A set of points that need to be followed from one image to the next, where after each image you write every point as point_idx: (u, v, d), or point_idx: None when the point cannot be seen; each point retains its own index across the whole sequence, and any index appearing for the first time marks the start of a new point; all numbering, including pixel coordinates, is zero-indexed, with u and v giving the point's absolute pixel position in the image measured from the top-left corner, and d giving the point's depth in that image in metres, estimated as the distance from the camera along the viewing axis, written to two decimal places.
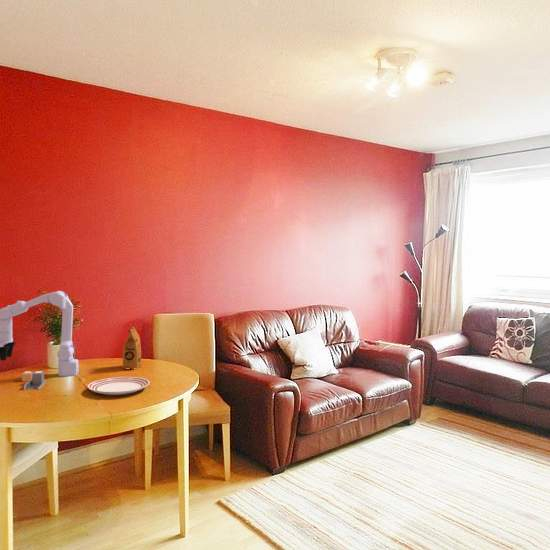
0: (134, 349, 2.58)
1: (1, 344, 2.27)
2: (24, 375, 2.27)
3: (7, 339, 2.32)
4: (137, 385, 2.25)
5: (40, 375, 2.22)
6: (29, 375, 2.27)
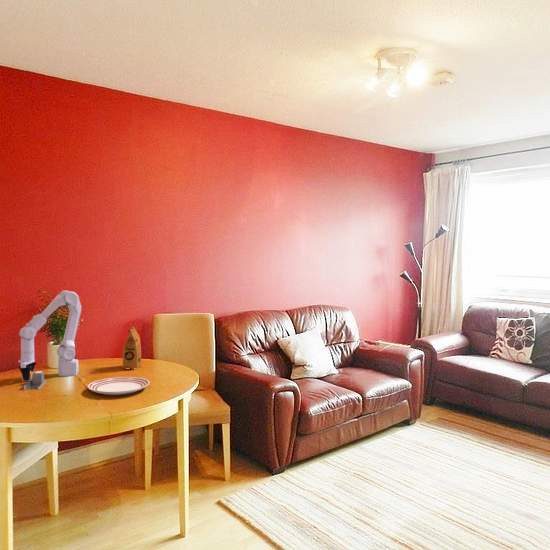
0: (134, 349, 2.58)
1: (23, 365, 2.21)
2: None
3: (29, 359, 2.26)
4: (137, 385, 2.25)
5: (40, 375, 2.22)
6: None
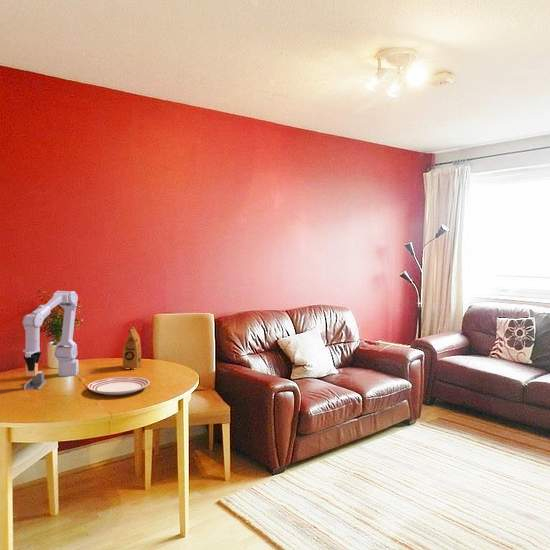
0: (134, 349, 2.58)
1: (28, 354, 2.09)
2: None
3: (34, 348, 2.14)
4: (137, 385, 2.25)
5: (40, 375, 2.22)
6: None
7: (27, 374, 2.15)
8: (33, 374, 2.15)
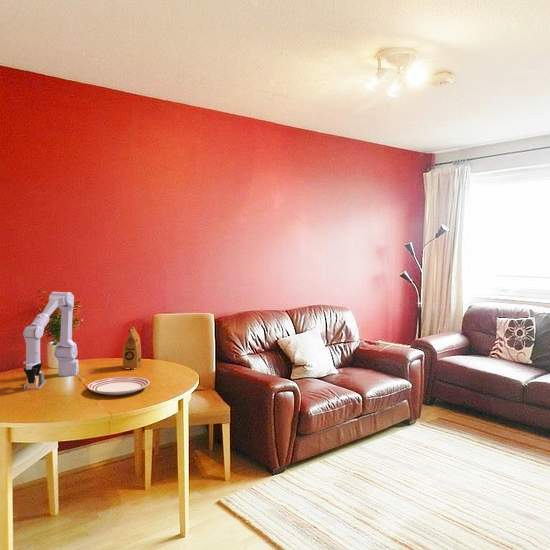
0: (134, 349, 2.58)
1: (29, 366, 2.09)
2: None
3: (35, 360, 2.14)
4: (137, 385, 2.25)
5: (40, 375, 2.22)
6: None
7: (28, 387, 2.14)
8: (34, 387, 2.15)
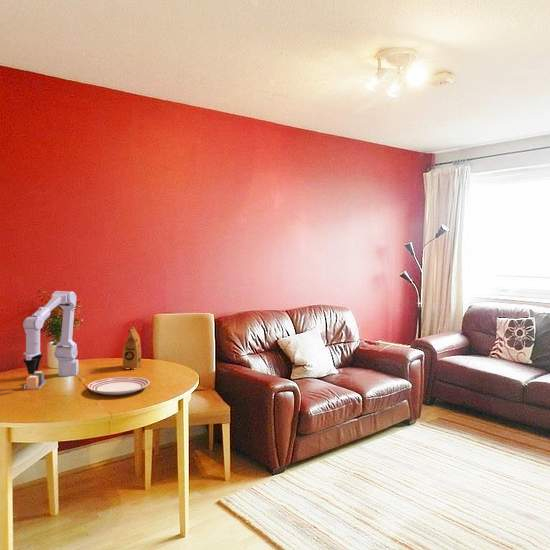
0: (134, 349, 2.58)
1: (29, 357, 2.09)
2: (29, 380, 2.14)
3: (35, 351, 2.14)
4: (137, 385, 2.25)
5: (40, 375, 2.22)
6: (34, 380, 2.15)
7: (28, 387, 2.14)
8: (34, 387, 2.15)
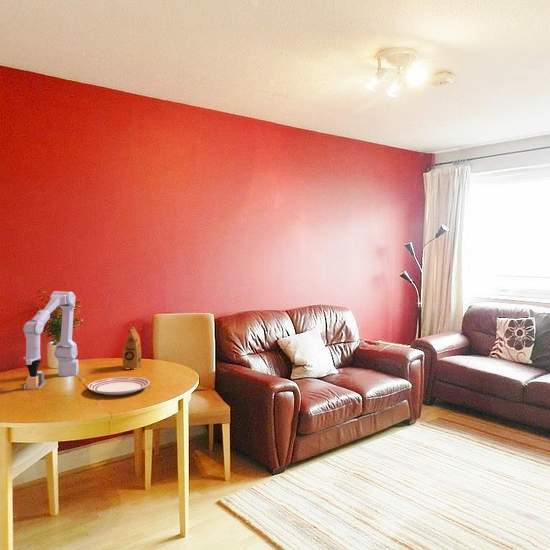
0: (134, 349, 2.58)
1: (29, 362, 2.09)
2: (29, 380, 2.14)
3: (35, 356, 2.14)
4: (137, 385, 2.25)
5: (40, 375, 2.22)
6: (34, 380, 2.15)
7: (28, 387, 2.14)
8: (34, 387, 2.15)
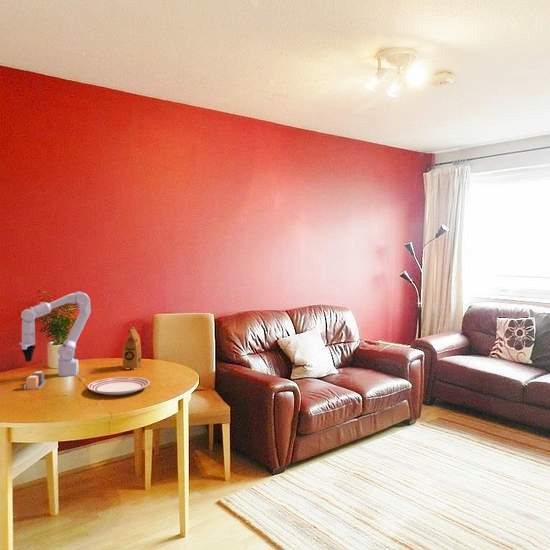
0: (134, 349, 2.58)
1: (24, 347, 2.23)
2: (29, 380, 2.14)
3: (30, 341, 2.28)
4: (137, 385, 2.25)
5: (40, 375, 2.22)
6: (34, 380, 2.15)
7: (28, 387, 2.14)
8: (34, 387, 2.15)
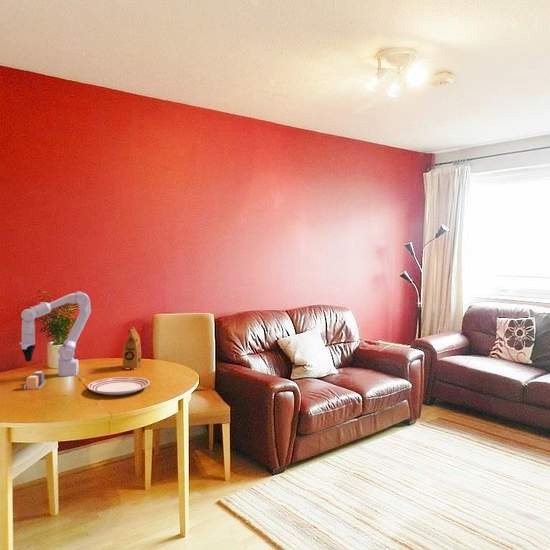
0: (134, 349, 2.58)
1: (24, 346, 2.24)
2: (29, 380, 2.14)
3: (30, 341, 2.29)
4: (137, 385, 2.25)
5: (40, 375, 2.22)
6: (34, 380, 2.15)
7: (28, 387, 2.14)
8: (34, 387, 2.15)
